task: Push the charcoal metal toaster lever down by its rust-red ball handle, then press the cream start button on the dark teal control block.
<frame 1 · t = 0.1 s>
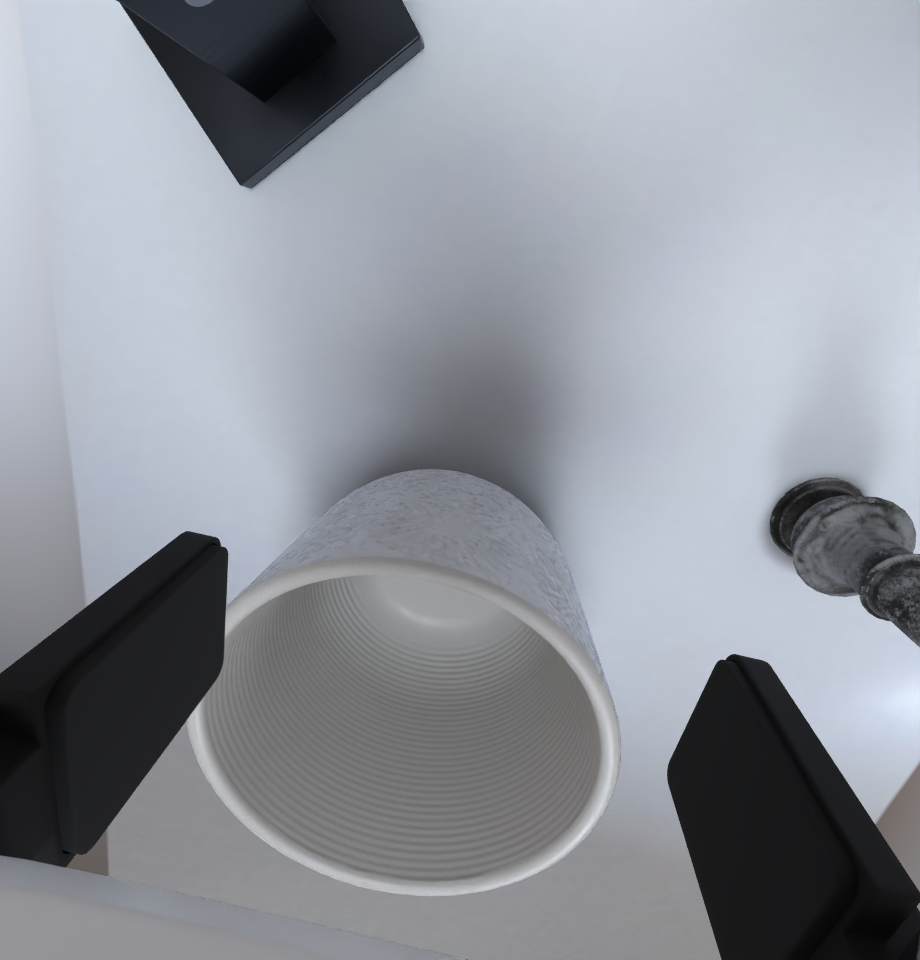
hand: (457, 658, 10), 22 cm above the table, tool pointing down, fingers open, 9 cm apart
dark grey upright piece: (816, 518, 31), on the table
planter: (444, 556, 35), on the table
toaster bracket: (277, 28, 25), on the table
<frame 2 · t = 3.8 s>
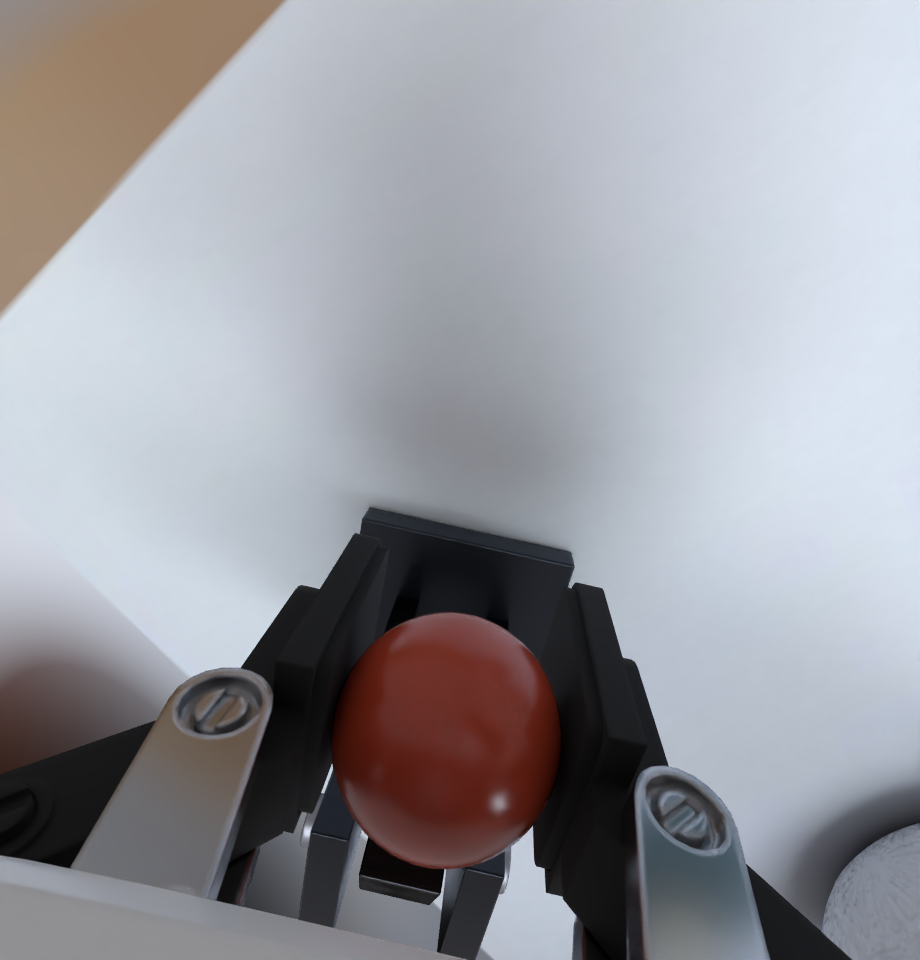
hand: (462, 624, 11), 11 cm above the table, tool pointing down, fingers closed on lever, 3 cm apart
lever: (421, 800, 12), point 12 cm above the table, hinge at 25.0°, touching gripper
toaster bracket: (446, 631, 25), on the table
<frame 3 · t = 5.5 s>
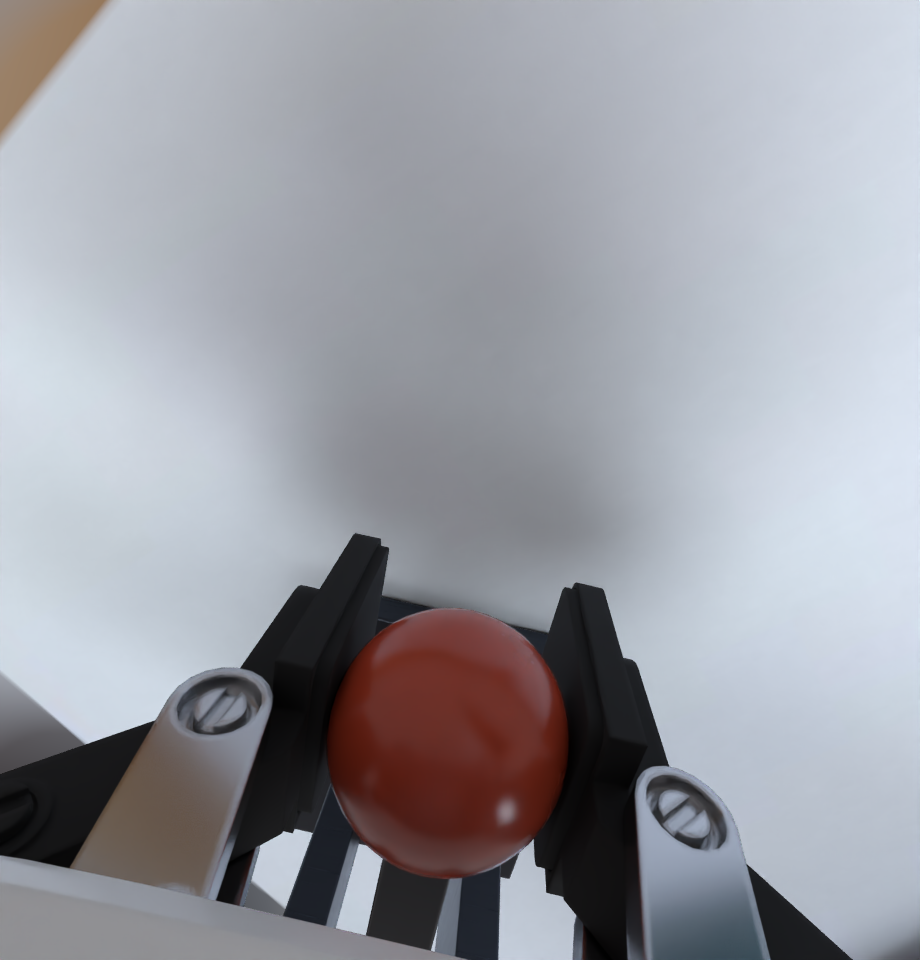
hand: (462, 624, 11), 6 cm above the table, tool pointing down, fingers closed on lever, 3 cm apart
lever: (395, 946, 9), point 10 cm above the table, hinge at -5.5°, touching gripper
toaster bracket: (427, 729, 20), on the table
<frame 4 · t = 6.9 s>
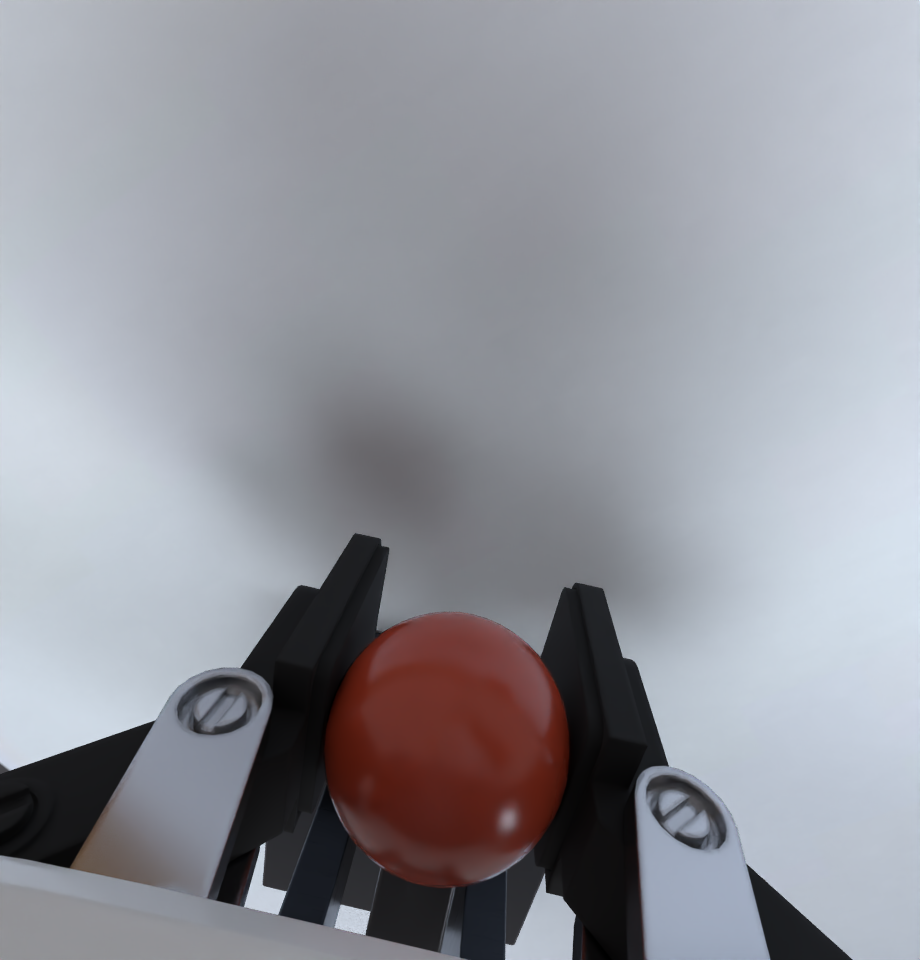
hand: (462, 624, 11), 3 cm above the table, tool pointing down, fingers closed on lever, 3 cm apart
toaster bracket: (419, 778, 17), on the table
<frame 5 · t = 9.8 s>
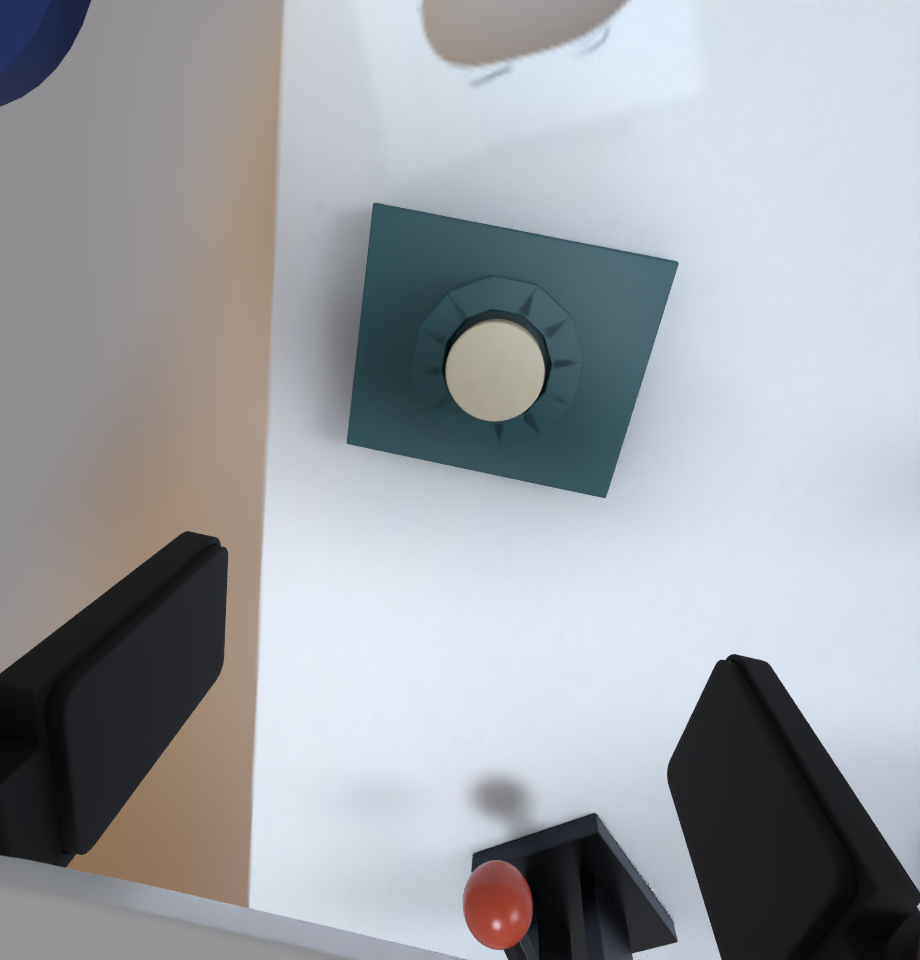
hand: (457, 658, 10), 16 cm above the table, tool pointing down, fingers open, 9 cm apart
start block: (499, 355, 24), on the table
start button: (495, 369, 20), point 4 cm above the table, slide at 0.2 cm
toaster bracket: (573, 888, 35), on the table
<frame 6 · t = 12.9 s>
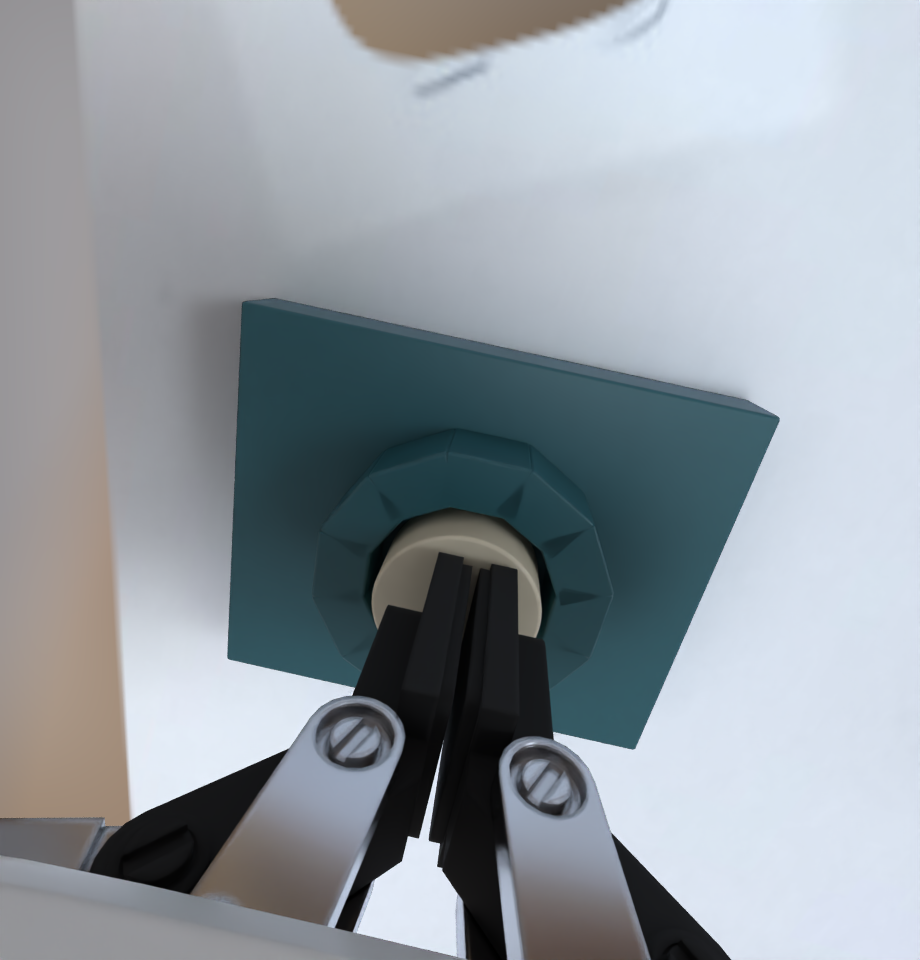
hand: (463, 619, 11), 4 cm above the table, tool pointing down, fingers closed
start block: (469, 526, 15), on the table
start button: (458, 590, 12), point 3 cm above the table, slide at -0.6 cm, touching gripper
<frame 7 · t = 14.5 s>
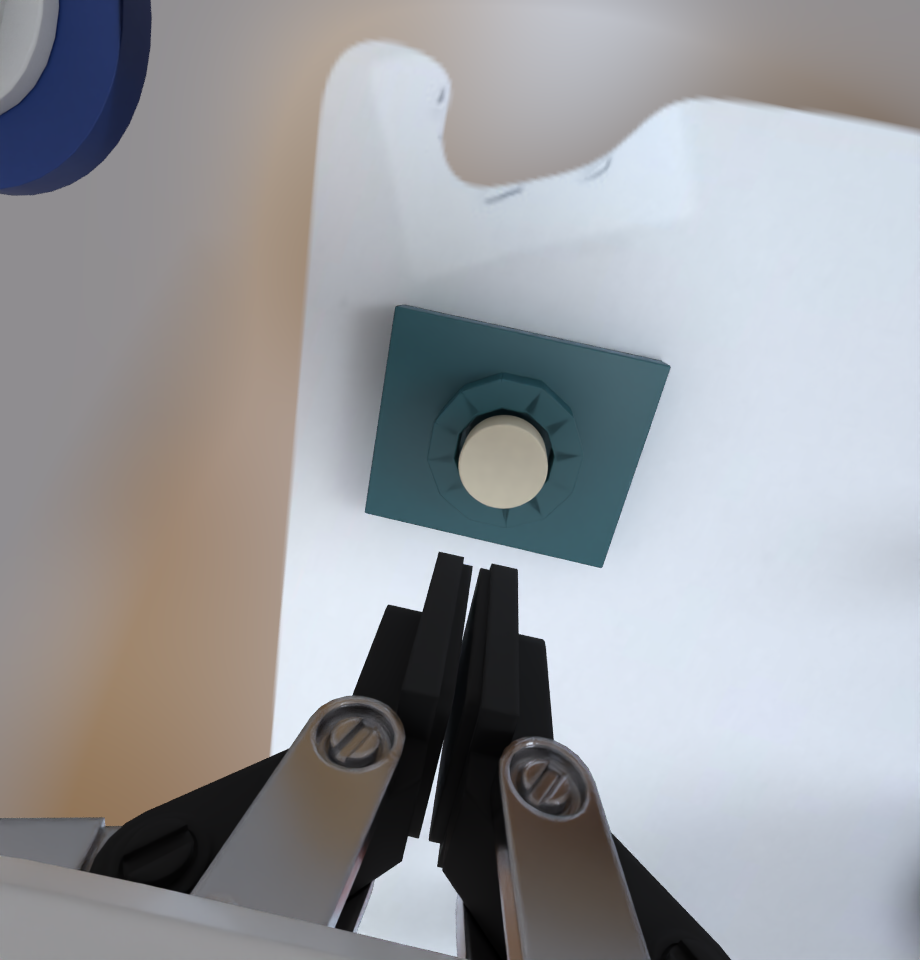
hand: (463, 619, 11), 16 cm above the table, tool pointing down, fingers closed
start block: (506, 435, 26), on the table
start button: (503, 461, 22), point 4 cm above the table, slide at 0.1 cm
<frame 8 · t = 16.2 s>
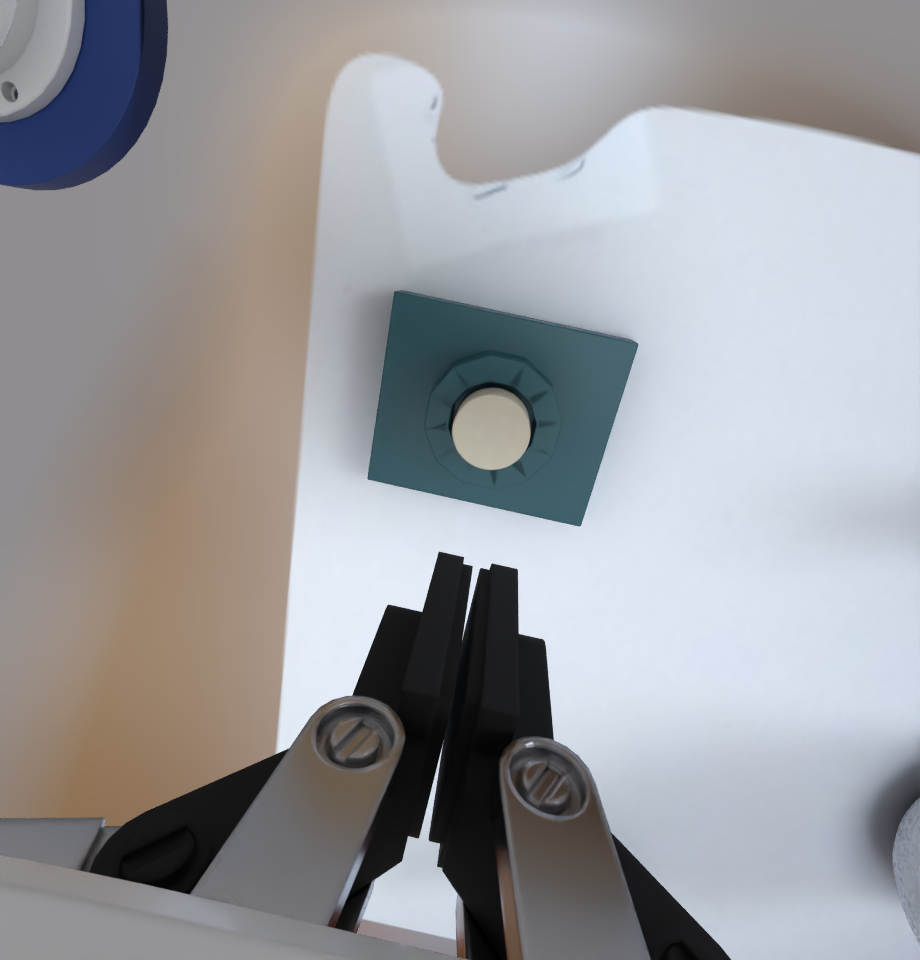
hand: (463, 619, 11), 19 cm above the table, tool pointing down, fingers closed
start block: (494, 408, 29), on the table
start button: (491, 428, 25), point 4 cm above the table, slide at 0.1 cm
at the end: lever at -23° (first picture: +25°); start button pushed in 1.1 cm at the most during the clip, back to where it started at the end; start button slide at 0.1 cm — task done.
